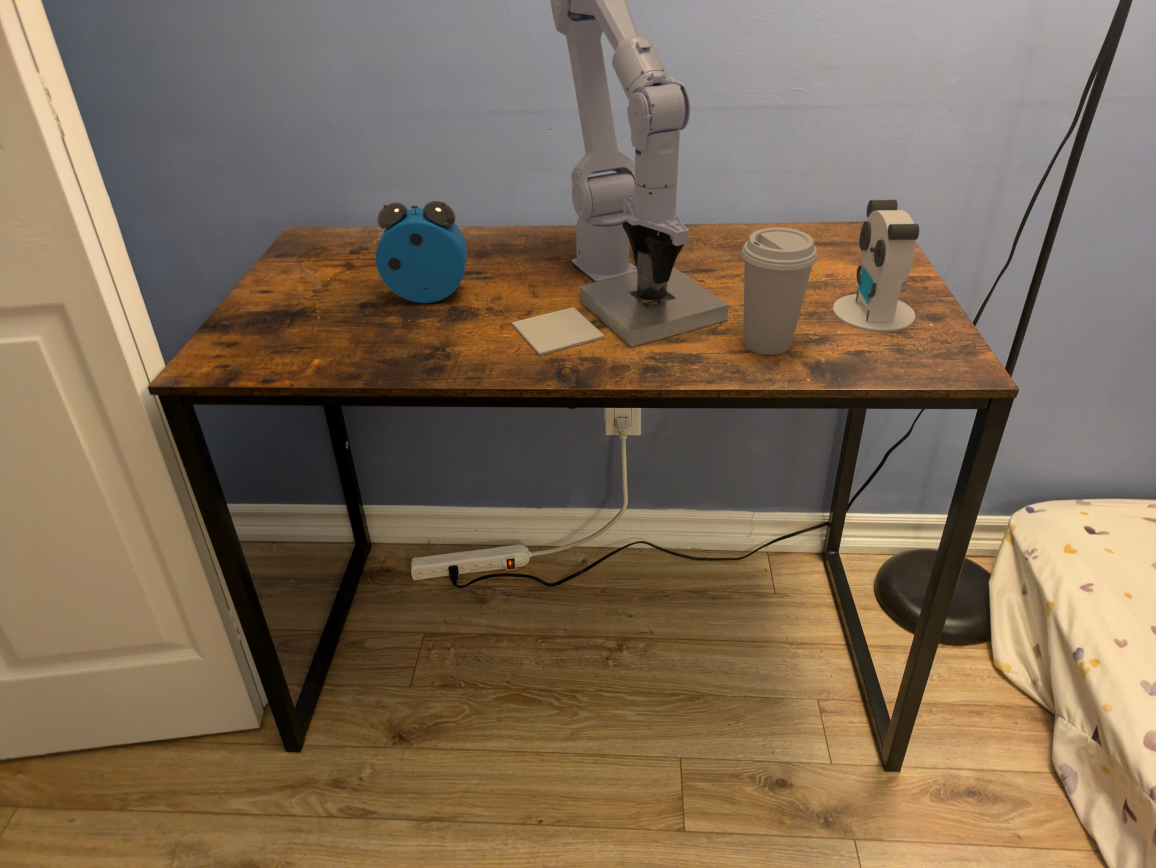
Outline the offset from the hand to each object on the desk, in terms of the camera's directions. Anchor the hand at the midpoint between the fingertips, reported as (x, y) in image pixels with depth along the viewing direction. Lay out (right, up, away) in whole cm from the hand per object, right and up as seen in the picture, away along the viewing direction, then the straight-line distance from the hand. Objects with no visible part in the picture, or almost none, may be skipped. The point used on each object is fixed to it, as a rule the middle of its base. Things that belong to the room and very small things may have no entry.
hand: (652, 275), depth 110 cm
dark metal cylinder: (0, -2, +2) cm, 3 cm away
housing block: (0, -5, +3) cm, 6 cm away
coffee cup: (+15, -11, -5) cm, 19 cm away
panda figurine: (+32, -5, +1) cm, 33 cm away
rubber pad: (-14, -8, -1) cm, 16 cm away
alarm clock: (-34, -2, +9) cm, 35 cm away
